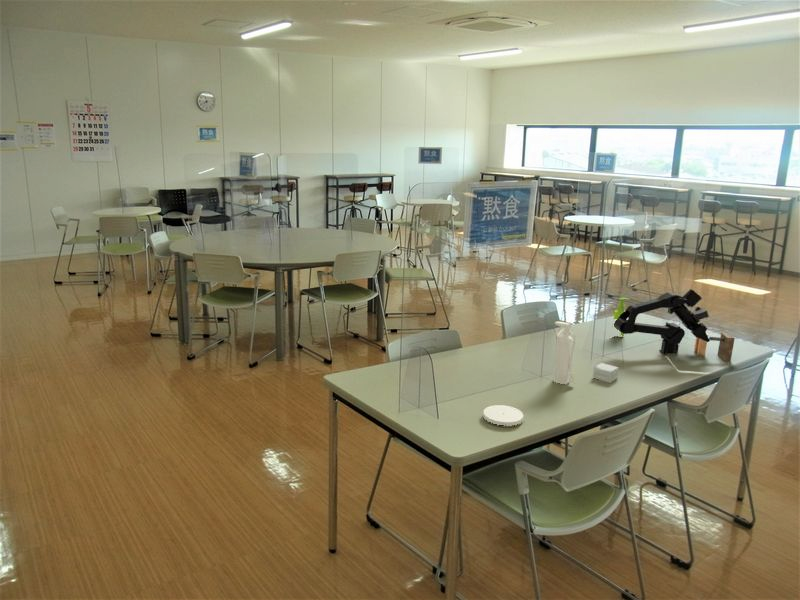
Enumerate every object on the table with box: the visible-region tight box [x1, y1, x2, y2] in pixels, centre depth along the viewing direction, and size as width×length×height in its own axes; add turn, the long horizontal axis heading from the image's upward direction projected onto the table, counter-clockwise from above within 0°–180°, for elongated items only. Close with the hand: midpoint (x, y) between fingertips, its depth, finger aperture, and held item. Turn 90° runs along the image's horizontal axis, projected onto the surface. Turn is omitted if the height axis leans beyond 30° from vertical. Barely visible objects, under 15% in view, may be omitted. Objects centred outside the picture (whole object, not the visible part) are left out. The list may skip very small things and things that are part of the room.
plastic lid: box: [482, 404, 524, 427], centre depth 220 cm, size 14×14×2 cm
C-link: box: [693, 333, 709, 357], centre depth 291 cm, size 3×6×11 cm, turn 172°
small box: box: [592, 362, 620, 384], centre depth 261 cm, size 8×8×5 cm
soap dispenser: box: [613, 297, 631, 338], centre depth 315 cm, size 6×7×20 cm
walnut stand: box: [708, 332, 736, 362], centre depth 286 cm, size 9×8×12 cm
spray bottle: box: [553, 321, 576, 385], centre depth 252 cm, size 7×12×25 cm, turn 29°
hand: (705, 338), depth 290 cm, fingers open, 9 cm apart
